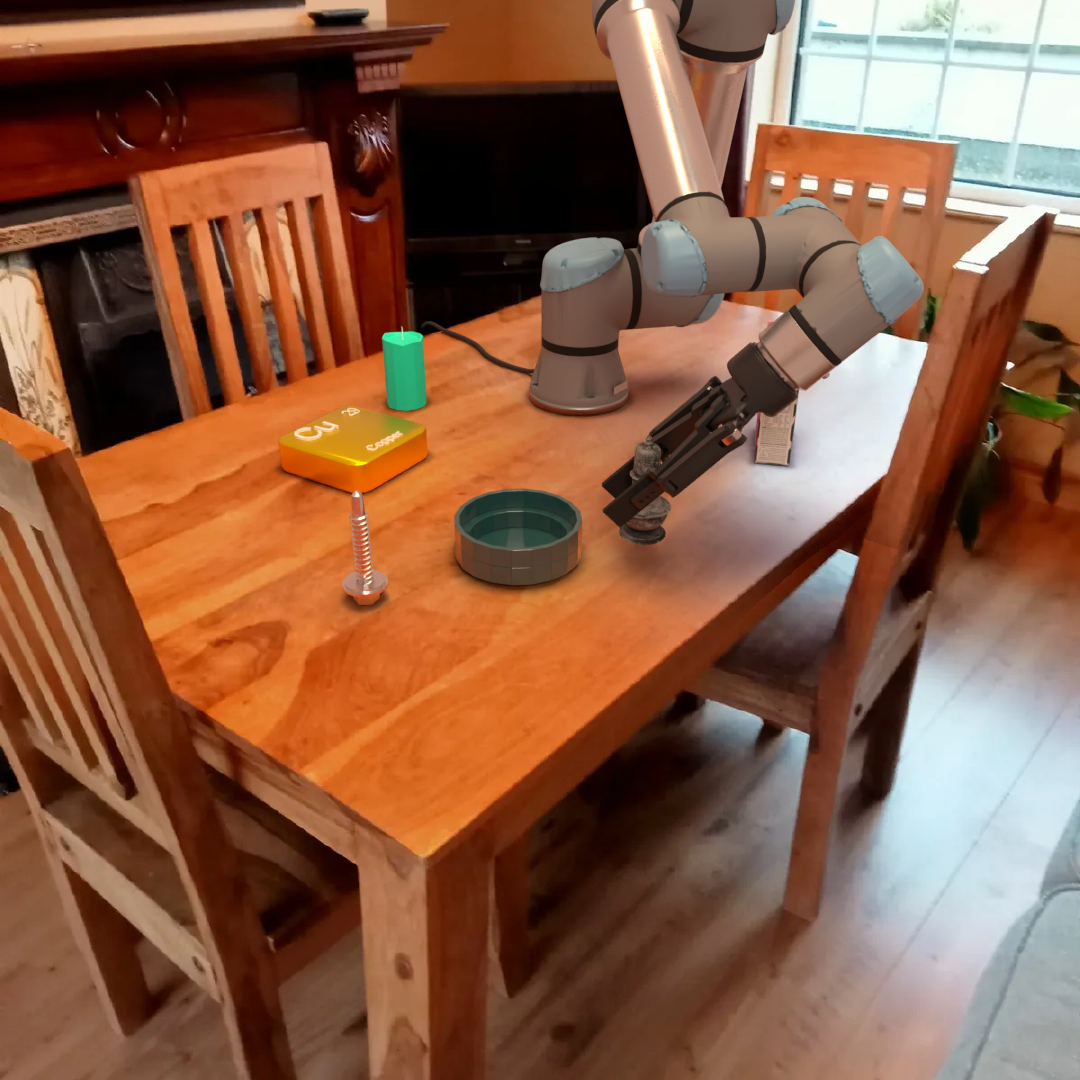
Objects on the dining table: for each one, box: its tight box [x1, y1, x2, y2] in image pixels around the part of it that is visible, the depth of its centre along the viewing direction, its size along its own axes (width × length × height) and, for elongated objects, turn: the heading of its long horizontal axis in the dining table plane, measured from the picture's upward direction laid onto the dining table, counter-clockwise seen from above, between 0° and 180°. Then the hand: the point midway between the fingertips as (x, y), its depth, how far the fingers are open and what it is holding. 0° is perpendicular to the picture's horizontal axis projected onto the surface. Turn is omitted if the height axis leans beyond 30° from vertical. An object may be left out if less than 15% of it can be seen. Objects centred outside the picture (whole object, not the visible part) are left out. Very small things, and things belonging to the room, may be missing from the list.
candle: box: [381, 326, 428, 412], centre depth 151 cm, size 6×6×12 cm
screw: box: [341, 490, 389, 606], centre depth 104 cm, size 13×5×5 cm
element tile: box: [277, 404, 429, 494], centre depth 135 cm, size 15×15×5 cm
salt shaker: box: [618, 434, 672, 546], centre depth 110 cm, size 6×6×12 cm
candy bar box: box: [754, 321, 800, 467], centre depth 136 cm, size 11×5×16 cm, turn 168°
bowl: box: [453, 488, 583, 586], centre depth 114 cm, size 14×14×5 cm
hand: (610, 504), depth 112 cm, fingers closed on salt shaker, 5 cm apart
